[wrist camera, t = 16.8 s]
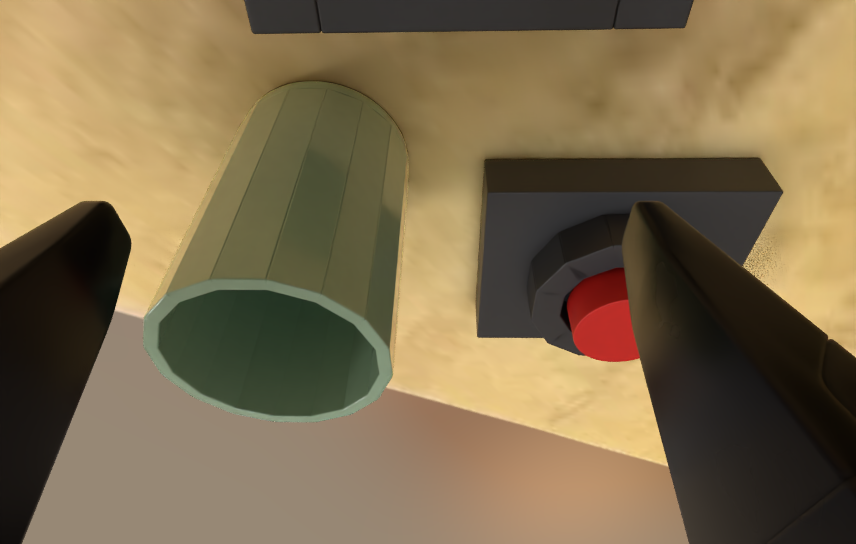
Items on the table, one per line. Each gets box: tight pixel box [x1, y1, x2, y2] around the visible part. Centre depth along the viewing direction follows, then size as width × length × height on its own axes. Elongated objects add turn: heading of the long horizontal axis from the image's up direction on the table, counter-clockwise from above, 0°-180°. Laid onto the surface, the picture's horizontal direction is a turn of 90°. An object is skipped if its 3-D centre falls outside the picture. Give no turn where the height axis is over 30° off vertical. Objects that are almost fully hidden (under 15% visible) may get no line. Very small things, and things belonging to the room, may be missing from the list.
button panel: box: [476, 158, 783, 356], centre depth 24 cm, size 11×9×4 cm
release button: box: [567, 268, 640, 362], centre depth 22 cm, size 4×4×2 cm
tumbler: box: [143, 81, 409, 422], centre depth 19 cm, size 7×7×10 cm
